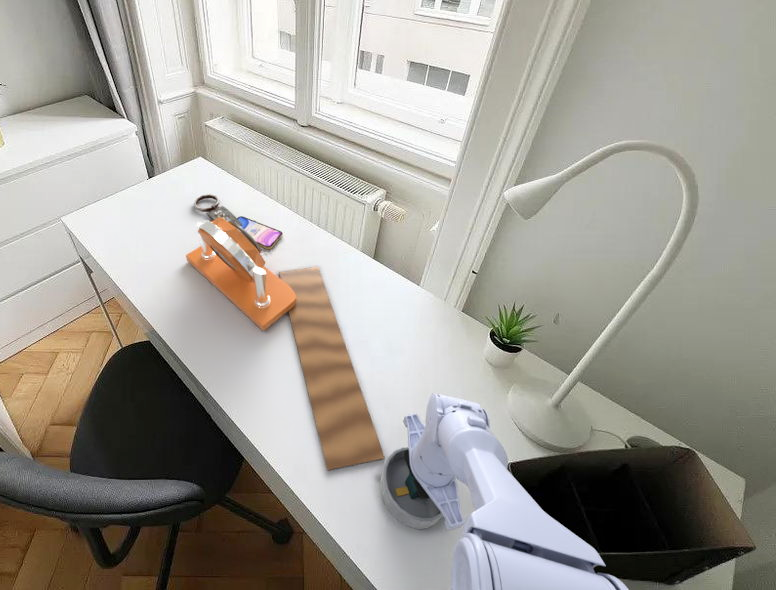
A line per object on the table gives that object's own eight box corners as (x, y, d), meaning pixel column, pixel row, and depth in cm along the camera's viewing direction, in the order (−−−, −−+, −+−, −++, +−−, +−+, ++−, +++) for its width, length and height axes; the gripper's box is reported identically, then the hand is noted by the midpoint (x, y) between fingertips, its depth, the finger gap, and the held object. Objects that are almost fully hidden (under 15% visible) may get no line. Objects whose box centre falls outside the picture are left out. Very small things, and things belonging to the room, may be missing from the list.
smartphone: (269, 251, 108) (269, 248, 107) (224, 232, 114) (224, 229, 114) (284, 234, 113) (284, 231, 112) (240, 217, 119) (240, 214, 119)
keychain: (221, 237, 113) (220, 231, 111) (190, 204, 125) (189, 199, 124) (244, 225, 116) (244, 220, 115) (212, 194, 128) (211, 189, 127)
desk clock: (261, 333, 88) (254, 271, 75) (185, 262, 106) (169, 202, 93) (301, 301, 94) (300, 238, 82) (223, 239, 112) (212, 179, 99)
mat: (384, 458, 69) (384, 457, 69) (327, 470, 68) (327, 469, 68) (317, 267, 103) (317, 266, 103) (279, 273, 102) (279, 272, 102)
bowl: (458, 512, 63) (465, 504, 60) (402, 540, 60) (407, 533, 58) (419, 447, 70) (424, 437, 68) (368, 470, 68) (371, 461, 65)
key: (425, 477, 66) (430, 468, 64) (432, 494, 64) (438, 485, 62) (392, 484, 66) (396, 475, 63) (398, 502, 64) (403, 493, 61)
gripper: (496, 507, 51) (467, 536, 60) (441, 396, 62) (422, 434, 71) (444, 520, 50) (421, 547, 59) (397, 404, 61) (384, 442, 70)
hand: (419, 486), depth 65 cm, fingers closed on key
